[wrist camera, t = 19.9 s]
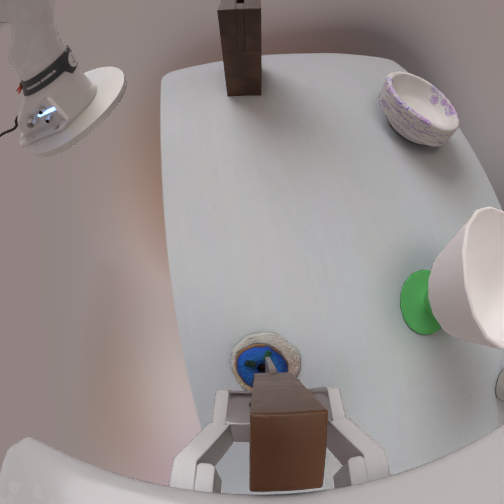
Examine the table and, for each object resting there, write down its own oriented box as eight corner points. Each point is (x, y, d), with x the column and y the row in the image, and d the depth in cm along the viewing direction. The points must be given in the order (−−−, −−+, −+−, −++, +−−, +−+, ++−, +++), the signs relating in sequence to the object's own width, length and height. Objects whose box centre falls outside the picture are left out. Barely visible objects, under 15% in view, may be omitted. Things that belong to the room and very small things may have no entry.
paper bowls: (451, 139, 40) (469, 115, 32) (421, 169, 38) (443, 142, 30) (397, 91, 44) (409, 64, 36) (357, 111, 41) (369, 79, 34)
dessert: (220, 386, 28) (228, 365, 25) (235, 343, 33) (244, 315, 30) (286, 405, 28) (305, 387, 24) (294, 360, 33) (312, 336, 30)
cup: (450, 251, 33) (520, 207, 18) (463, 340, 29) (543, 329, 14) (377, 257, 33) (445, 203, 18) (389, 361, 29) (472, 368, 14)
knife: (279, 356, 22) (329, 402, 6) (279, 389, 21) (322, 493, 5) (255, 356, 22) (249, 406, 6) (255, 390, 21) (249, 497, 5)
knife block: (260, 67, 46) (259, -8, 28) (261, 95, 43) (261, 8, 25) (230, 67, 46) (223, -7, 29) (227, 96, 43) (217, 10, 26)
